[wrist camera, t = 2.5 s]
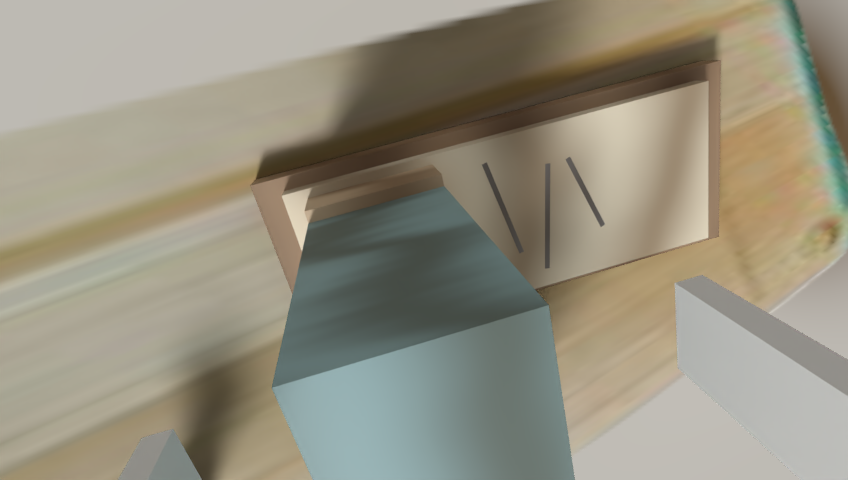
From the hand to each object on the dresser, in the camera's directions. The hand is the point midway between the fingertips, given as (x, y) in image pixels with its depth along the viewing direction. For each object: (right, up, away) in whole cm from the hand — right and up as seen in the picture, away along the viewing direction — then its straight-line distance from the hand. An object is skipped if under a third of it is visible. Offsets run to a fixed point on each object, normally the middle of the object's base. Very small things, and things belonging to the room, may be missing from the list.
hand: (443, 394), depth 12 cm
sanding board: (+3, +6, +11) cm, 13 cm away
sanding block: (-2, +3, +9) cm, 10 cm away
